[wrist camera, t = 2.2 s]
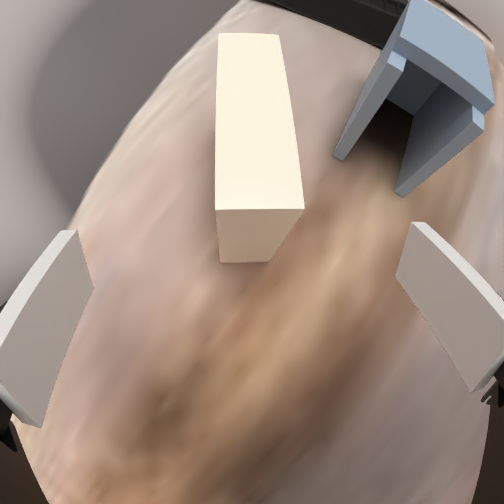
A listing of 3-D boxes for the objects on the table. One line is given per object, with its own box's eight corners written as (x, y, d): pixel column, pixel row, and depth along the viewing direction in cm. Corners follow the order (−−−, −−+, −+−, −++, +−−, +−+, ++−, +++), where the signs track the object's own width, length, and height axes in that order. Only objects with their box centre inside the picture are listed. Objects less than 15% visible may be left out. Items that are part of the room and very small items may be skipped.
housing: (402, 197, 28) (496, 120, 14) (331, 155, 28) (395, 47, 14) (422, 114, 31) (483, 41, 17) (366, 79, 31) (412, -6, 17)
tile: (269, 261, 25) (304, 208, 14) (220, 263, 25) (215, 209, 13) (260, 130, 28) (278, 34, 17) (219, 130, 28) (218, 33, 16)
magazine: (236, -48, 26) (462, -17, 16) (246, -53, 27) (459, -23, 17) (257, 37, 42) (440, 79, 32) (265, 29, 42) (440, 68, 33)
